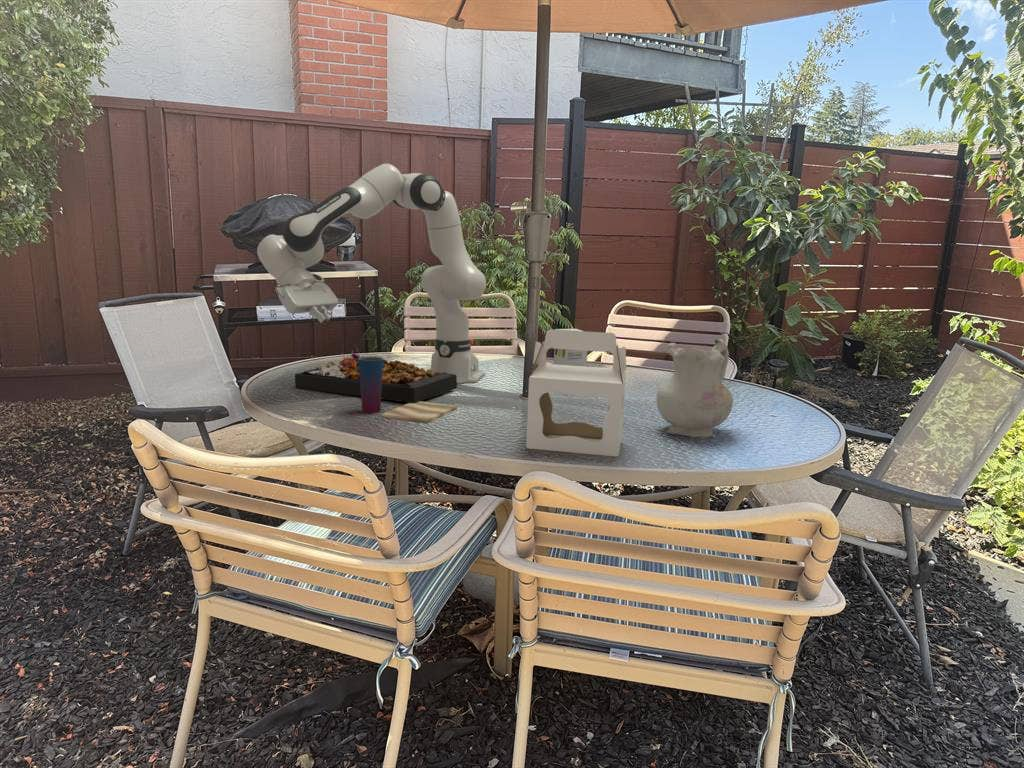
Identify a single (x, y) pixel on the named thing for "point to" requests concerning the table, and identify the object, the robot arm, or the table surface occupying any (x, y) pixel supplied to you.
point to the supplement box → (570, 355)
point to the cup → (371, 383)
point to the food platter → (396, 380)
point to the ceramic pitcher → (696, 391)
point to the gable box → (577, 384)
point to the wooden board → (420, 411)
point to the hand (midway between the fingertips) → (325, 320)
